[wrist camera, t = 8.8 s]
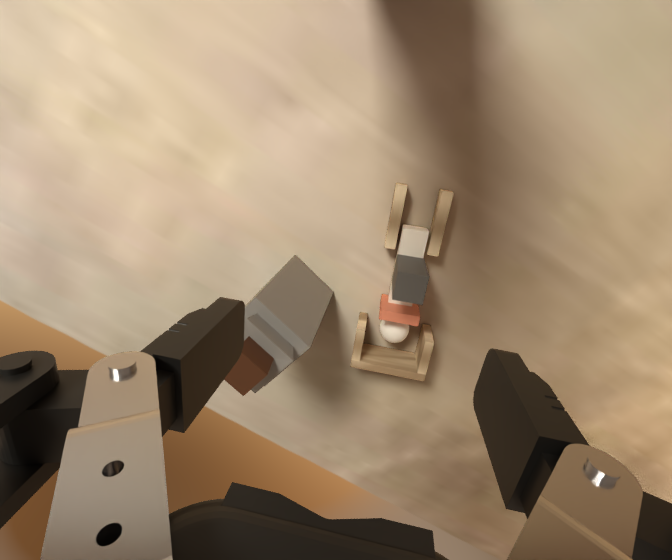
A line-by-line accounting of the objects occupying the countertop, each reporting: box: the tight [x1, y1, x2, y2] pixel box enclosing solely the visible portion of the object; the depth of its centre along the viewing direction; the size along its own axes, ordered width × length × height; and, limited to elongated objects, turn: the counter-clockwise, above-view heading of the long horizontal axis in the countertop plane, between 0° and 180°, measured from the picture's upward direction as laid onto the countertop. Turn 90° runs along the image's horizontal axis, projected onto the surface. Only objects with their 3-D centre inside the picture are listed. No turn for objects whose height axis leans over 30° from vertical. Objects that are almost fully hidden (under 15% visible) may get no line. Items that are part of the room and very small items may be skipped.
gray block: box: [379, 224, 429, 326], centre depth 37 cm, size 10×4×8 cm, turn 173°
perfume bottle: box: [224, 255, 333, 396], centre depth 36 cm, size 7×7×18 cm
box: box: [350, 312, 434, 381], centre depth 43 cm, size 5×9×4 cm, turn 83°
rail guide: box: [384, 183, 454, 256], centre depth 38 cm, size 7×6×2 cm
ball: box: [380, 320, 409, 343], centre depth 42 cm, size 4×4×4 cm
